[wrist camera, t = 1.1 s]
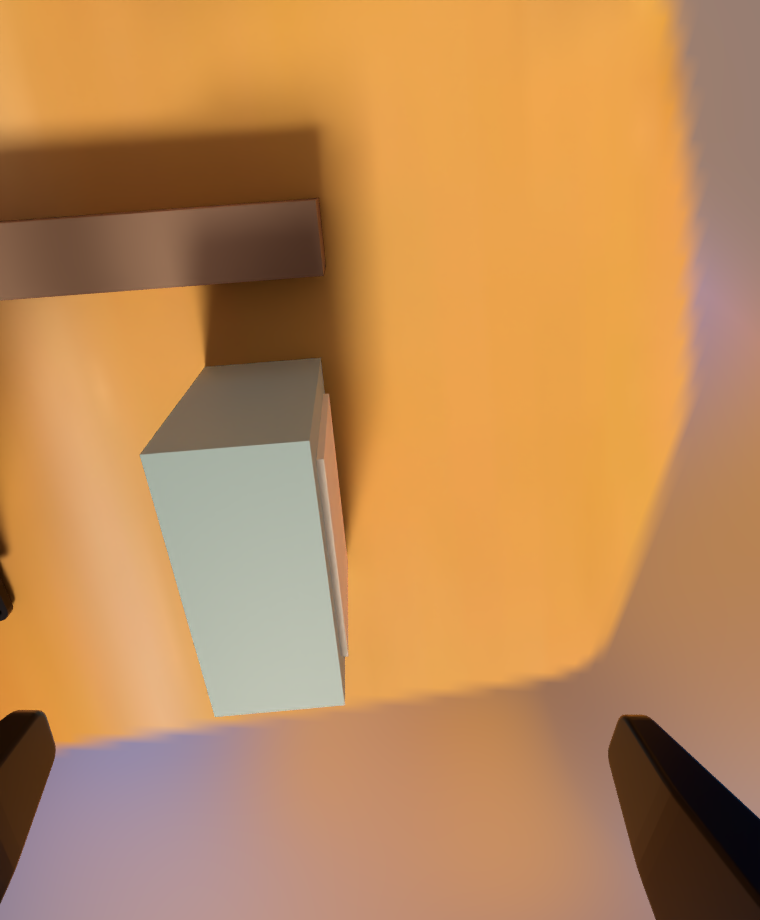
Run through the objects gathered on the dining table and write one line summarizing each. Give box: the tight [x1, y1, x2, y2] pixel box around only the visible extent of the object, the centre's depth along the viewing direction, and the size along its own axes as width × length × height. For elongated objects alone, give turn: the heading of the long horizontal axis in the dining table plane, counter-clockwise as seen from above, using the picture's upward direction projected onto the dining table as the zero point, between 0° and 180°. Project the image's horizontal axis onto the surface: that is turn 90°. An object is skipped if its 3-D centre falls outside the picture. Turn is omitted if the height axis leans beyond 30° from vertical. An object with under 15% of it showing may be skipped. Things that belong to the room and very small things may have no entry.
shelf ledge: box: [0, 198, 326, 300], centre depth 17 cm, size 15×2×2 cm, turn 94°
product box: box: [140, 358, 348, 717], centre depth 18 cm, size 4×9×7 cm, turn 4°
